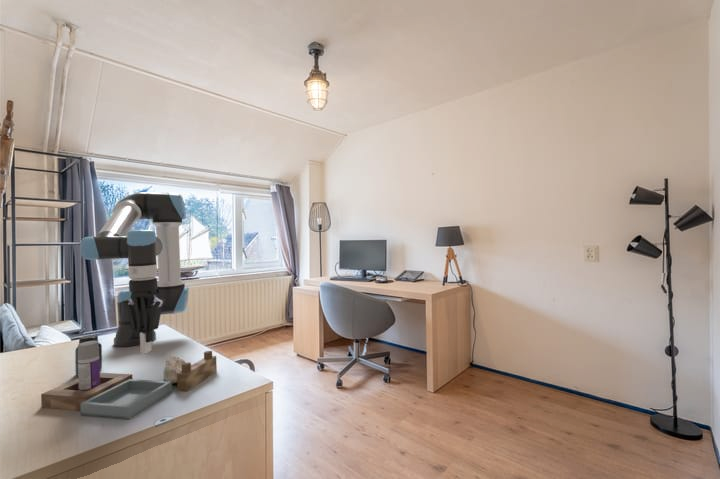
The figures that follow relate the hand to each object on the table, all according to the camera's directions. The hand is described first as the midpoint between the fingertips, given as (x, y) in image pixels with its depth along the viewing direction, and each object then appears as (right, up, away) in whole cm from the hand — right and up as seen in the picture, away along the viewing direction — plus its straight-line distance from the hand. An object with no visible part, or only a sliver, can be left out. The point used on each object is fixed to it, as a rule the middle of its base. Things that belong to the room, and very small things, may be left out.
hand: (146, 351), depth 104 cm
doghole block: (-8, -8, -12) cm, 17 cm away
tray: (+7, -8, -17) cm, 20 cm away
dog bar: (+19, -8, -4) cm, 20 cm away
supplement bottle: (-22, -9, +4) cm, 24 cm away
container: (-8, -8, -12) cm, 17 cm away
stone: (+12, -8, -3) cm, 15 cm away
